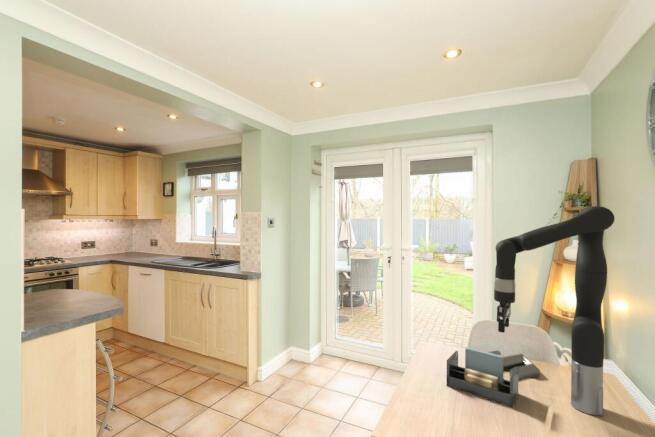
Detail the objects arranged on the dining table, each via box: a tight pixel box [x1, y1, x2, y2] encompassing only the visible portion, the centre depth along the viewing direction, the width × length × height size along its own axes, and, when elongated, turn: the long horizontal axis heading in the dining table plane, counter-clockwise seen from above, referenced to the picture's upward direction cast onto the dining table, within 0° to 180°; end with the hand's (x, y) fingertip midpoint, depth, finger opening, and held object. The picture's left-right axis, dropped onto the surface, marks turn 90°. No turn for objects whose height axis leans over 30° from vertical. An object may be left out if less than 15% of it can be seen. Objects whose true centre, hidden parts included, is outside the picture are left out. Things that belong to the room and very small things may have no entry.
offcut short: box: [467, 374, 493, 389], centre depth 127 cm, size 9×2×6 cm, turn 51°
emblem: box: [488, 350, 541, 381], centre depth 151 cm, size 28×5×28 cm
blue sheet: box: [464, 347, 505, 384], centre depth 133 cm, size 14×2×14 cm, turn 51°
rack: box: [446, 350, 519, 409], centre depth 130 cm, size 24×12×12 cm, turn 51°
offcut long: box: [465, 368, 498, 391], centre depth 129 cm, size 12×2×7 cm, turn 51°
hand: (503, 329), depth 131 cm, fingers open, 8 cm apart
